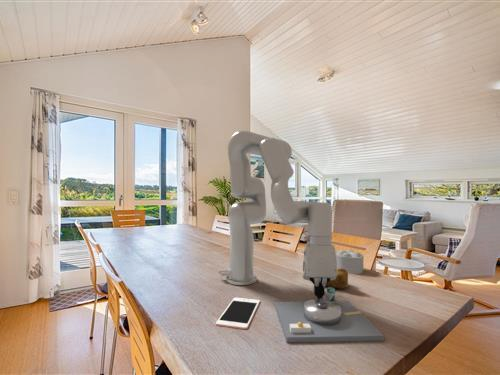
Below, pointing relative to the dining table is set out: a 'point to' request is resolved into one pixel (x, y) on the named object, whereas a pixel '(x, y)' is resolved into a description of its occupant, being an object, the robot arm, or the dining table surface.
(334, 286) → the brown irregular lump
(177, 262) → the dining table surface
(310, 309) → the dial
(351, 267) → the lumpy-topped squat cylinder
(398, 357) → the dining table surface
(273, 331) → the dining table surface
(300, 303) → the stand
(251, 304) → the cell phone
